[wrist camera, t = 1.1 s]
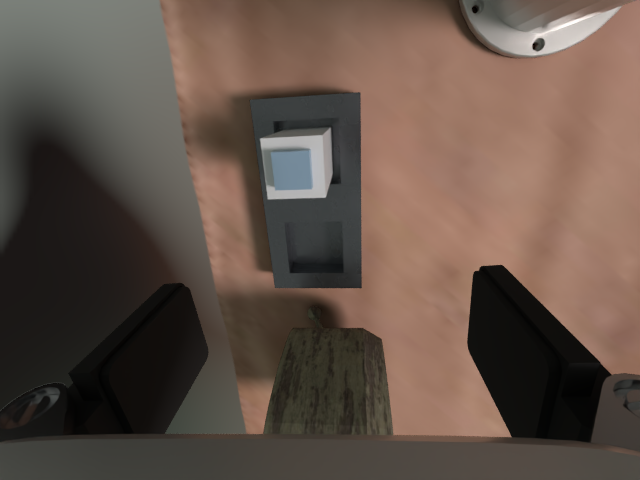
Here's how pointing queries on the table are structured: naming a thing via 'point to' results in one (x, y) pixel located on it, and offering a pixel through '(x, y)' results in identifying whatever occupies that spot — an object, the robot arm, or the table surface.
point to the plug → (298, 162)
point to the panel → (315, 213)
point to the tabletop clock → (330, 383)
